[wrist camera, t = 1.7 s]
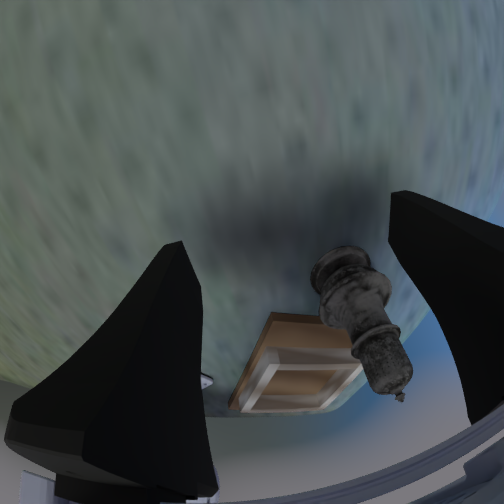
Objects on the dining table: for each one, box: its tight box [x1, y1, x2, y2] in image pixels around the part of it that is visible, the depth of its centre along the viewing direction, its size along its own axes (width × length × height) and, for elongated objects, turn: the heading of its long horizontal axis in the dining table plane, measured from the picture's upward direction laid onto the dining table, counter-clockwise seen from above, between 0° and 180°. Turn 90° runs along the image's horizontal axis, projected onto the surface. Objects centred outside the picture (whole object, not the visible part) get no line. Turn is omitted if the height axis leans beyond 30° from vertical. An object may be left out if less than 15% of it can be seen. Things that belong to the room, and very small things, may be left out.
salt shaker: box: [310, 246, 413, 402], centre depth 18 cm, size 6×6×12 cm
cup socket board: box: [228, 312, 363, 413], centre depth 30 cm, size 18×12×3 cm, turn 164°
